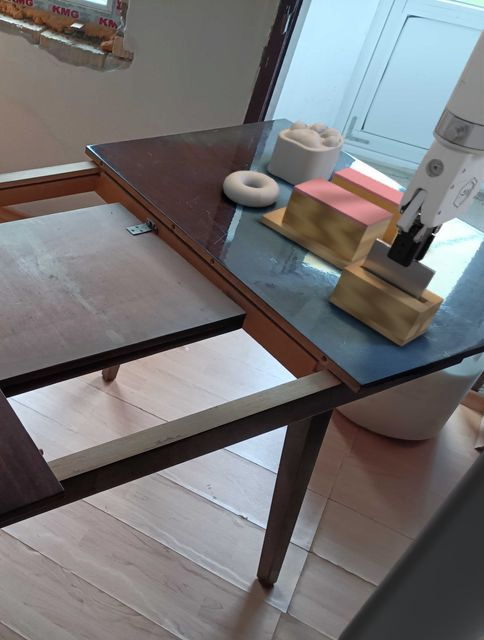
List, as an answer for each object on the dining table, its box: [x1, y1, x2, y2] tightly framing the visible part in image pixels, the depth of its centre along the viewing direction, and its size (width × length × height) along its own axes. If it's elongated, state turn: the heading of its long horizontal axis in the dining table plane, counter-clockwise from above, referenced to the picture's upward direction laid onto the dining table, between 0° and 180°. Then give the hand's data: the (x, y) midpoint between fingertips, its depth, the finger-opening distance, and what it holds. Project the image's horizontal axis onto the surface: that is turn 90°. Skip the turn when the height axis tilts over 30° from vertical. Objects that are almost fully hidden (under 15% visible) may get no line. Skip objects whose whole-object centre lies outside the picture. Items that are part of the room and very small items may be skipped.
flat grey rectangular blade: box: [361, 221, 437, 301], centre depth 94 cm, size 9×2×13 cm, turn 34°
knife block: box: [328, 258, 445, 347], centre depth 98 cm, size 12×6×6 cm, turn 34°
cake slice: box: [330, 166, 405, 244], centre depth 116 cm, size 14×4×7 cm, turn 34°
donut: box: [222, 170, 281, 208], centre depth 124 cm, size 10×4×10 cm
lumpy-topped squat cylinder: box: [266, 120, 345, 186], centre depth 132 cm, size 10×13×9 cm
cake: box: [259, 177, 394, 271], centre depth 114 cm, size 20×18×8 cm
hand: (404, 257), depth 93 cm, fingers closed on flat grey rectangular blade, 2 cm apart
